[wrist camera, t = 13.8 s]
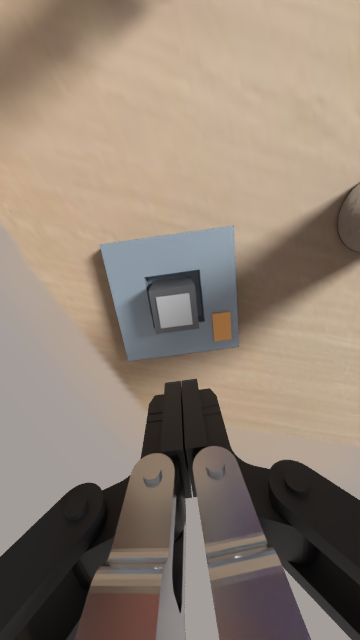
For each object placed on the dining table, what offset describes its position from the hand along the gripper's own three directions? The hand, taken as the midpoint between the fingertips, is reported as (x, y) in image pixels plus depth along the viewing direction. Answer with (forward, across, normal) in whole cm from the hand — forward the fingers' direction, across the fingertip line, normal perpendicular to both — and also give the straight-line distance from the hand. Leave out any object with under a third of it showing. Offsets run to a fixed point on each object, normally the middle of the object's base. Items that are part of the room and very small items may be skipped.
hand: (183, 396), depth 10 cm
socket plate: (+22, 0, 0) cm, 22 cm away
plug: (+22, 0, 0) cm, 22 cm away
